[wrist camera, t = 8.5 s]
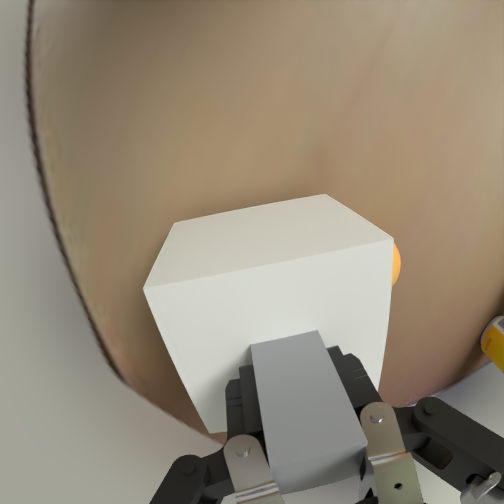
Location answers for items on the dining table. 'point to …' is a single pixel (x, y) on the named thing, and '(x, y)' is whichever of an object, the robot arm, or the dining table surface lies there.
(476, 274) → the dining table surface
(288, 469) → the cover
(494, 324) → the yellow white cylinder
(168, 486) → the robot arm
